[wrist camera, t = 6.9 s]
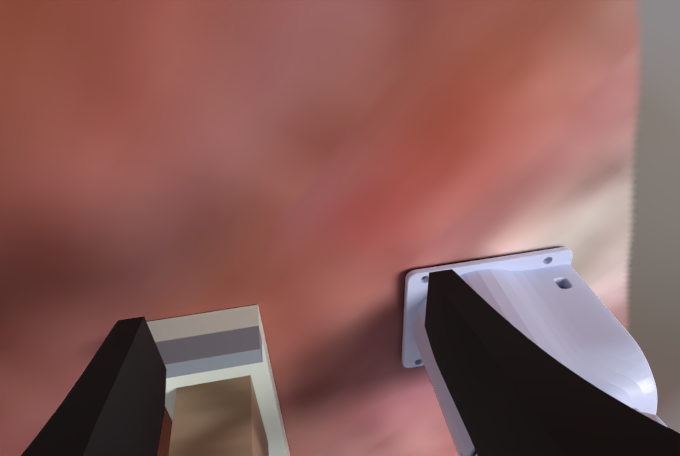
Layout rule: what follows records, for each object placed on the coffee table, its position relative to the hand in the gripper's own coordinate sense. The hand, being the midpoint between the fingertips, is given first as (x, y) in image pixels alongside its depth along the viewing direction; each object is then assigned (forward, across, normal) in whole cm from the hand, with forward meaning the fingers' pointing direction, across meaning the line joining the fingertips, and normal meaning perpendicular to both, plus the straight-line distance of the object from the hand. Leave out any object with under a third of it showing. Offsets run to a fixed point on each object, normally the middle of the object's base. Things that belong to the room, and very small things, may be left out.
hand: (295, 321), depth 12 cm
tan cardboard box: (+8, +5, +16) cm, 19 cm away
